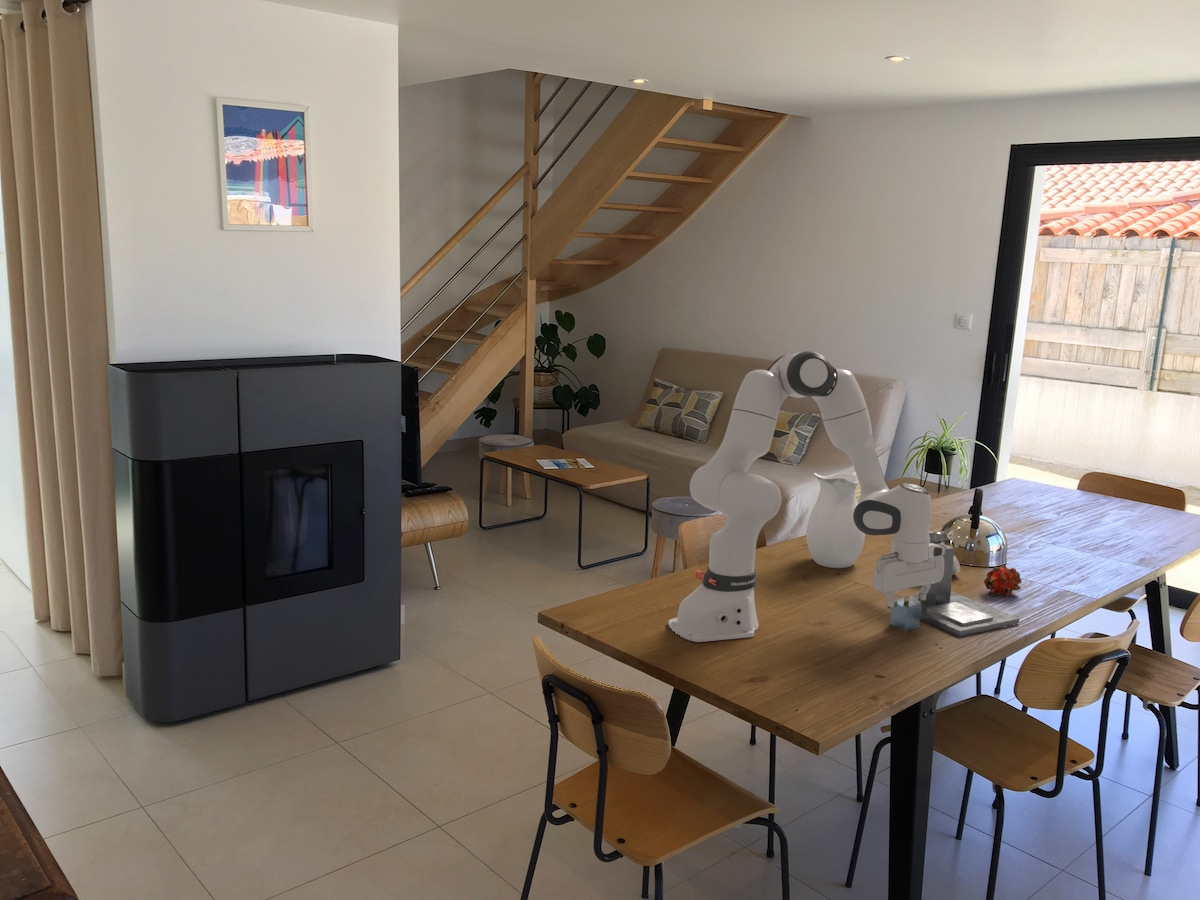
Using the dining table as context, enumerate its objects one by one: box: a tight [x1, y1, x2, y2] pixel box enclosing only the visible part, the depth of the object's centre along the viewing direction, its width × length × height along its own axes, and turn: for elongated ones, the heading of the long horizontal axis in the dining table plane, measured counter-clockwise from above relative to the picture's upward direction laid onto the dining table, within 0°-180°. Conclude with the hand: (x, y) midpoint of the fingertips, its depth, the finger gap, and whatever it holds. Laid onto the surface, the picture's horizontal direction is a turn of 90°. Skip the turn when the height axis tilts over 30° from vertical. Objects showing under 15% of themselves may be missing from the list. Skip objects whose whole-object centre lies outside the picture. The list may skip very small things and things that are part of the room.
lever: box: [929, 530, 949, 544], centre depth 255 cm, size 4×23×3 cm, turn 26°
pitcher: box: [806, 471, 866, 569], centre depth 285 cm, size 24×17×28 cm
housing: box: [889, 595, 921, 632], centre depth 235 cm, size 5×5×8 cm
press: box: [894, 543, 1020, 638], centre depth 242 cm, size 20×24×16 cm
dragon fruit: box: [983, 564, 1022, 597], centre depth 259 cm, size 8×8×12 cm
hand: (906, 603), depth 235 cm, fingers open, 8 cm apart
